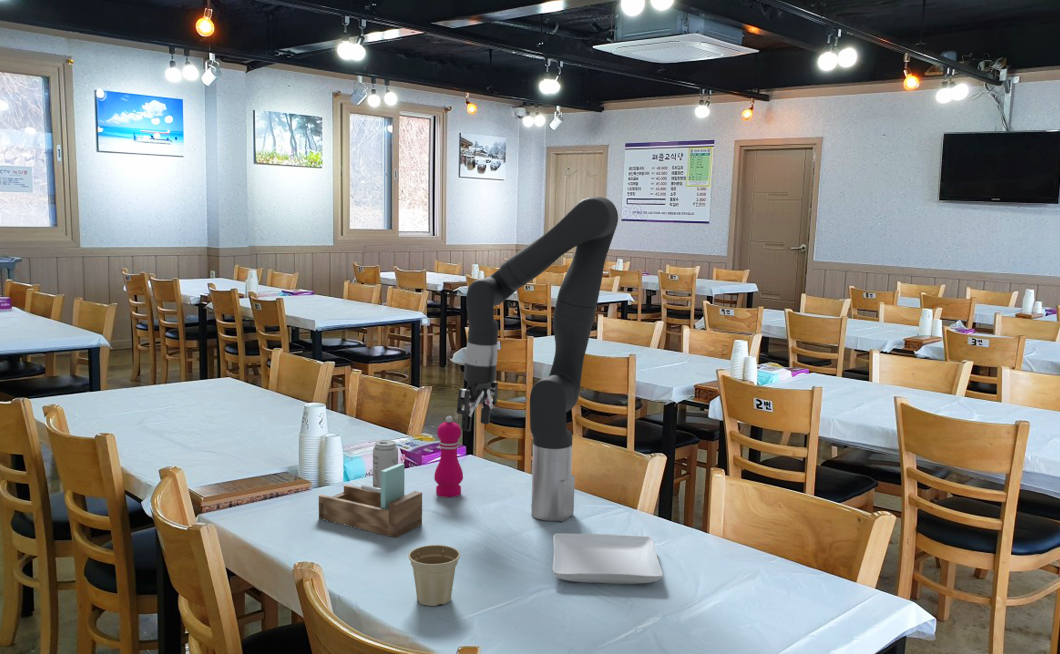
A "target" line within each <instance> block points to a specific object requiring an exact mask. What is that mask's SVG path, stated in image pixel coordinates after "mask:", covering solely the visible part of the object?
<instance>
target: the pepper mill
mask: <svg viewBox="0 0 1060 654" xmlns="http://www.w3.org/2000/svg"><path fill="white" fill-rule="evenodd" d="M453 420H454V419H453V417H452V416H451V415H448V416H446V417H445V422H443V423H442V422H441V424H440V425H439V426H438V427H437V430H436V431H437V433H436V434H437V438H438V439H439V441H438V444H439V445H438V447H439V448H440V458H439V462H438V464H437V466H436V467H435V471H434V475H433V476H434V477H433V478H434V482H435V483H436V484H437V485H436V487H435V493H436V495H437V496H438V497H442V498H454V497H458V496H460V495H461V494H462V486H461V485H460V484H461V483H462V481H463V480H464V475H463V474H464V472H463V468H462V466H461V464H460V461H459V459H458V458H459V457H458V448H459V447H460V441H459V439H460V438H461V436H462V429H461V426H460V425H459V424H458V423H457V422H454V421H453Z"/></svg>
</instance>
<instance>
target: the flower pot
mask: <svg viewBox="0 0 1060 654" xmlns="http://www.w3.org/2000/svg"><path fill="white" fill-rule="evenodd" d="M460 558H461V552H460V551H459V549H457V548H456V547H453V546H450V545H446V544H444V545H443V544H428V545H422V546H418V547H415V548H414V549H412V550H410V551H409V553H408V560H409V561H410V565H411V568H412V570H413V578H414V585H415V592H416V599H417V601H418V602H419V604H421V605H422V606H423V605H424V606H428V607H437V606H438V605H446V604H448V603H449V602H450V601H451V599H452V593H453V586H454V581H455V580H454V579H455V572H456V567H457V565H458V563H459V560H460Z"/></svg>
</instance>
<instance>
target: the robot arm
mask: <svg viewBox="0 0 1060 654" xmlns="http://www.w3.org/2000/svg"><path fill="white" fill-rule="evenodd" d="M618 222H619V213H618V209H617V207H616V206H615V204H614V203H613V202H612V201H611V200H610V199H609V198H606V197H601V196H589V197H586V198H583V199H581V200H580V201H578V202H577V203H576V204H575V206H573V208H571V209H570V210H569V212H567V214H566V215H564V216H563V217H562V218H561V219H560V221H558V223H556V224H555V225H554V226H553V227H552V228H550V229H549V230H548V231H547V232H545V233H544V234H543V235H542V236H540V237H538V238H537V239H536V240H534V241H533V242H532V243H530V244H528V245H527V246H525V247H524V248H522V249H521V250H519V251H518V252H517V253H514V254H513V255H512V256H511V257H509V258H508V259H507V260H505V261H504V262H503V263H502V264H501V266H500V267H499V269H497V270H496V271H495V272H494V273H492V274H491V275H489V276H487V277H485V278H479V279H476V280H474V281H472V282H471V283H470V284H469V286H468V288H467V291H466V297H465V298H466V300H465V301H466V311H467V312H466V313H467V319H468V324H469V325H468V331H467V333H468V334H467V342H466V343H467V345H466V349H465V357H464V372H463V379H464V381H466V382H467V386H466V388H459V389H458V394H457V395H458V397H457V406H456V414H459V415H461V426H460V428H461V431H464V432H470V431H471V429H472V421H473V420H472V418H473V413H474V410H476V409H477V408H478V406H479V405H481V410H480V423H481V424H483V425H489V424H490V421H491V420H490V419H491V412H492V411H491V410H492V409H493V408H494V406H496V405H497V402H498V388H499V387H498V381H496V377H497V376H496V374H497V363H498V362H497V361H498V337H499V336H498V335H499V323H498V321H497V320H496V319H495V317H494V316H495V315H494V312H495V311H494V307H497V306H499V305H500V304H502V303H503V302H505V301H506V300H507V299H509V298H510V297H511V296H512V295H513V294H515V292H516V291H518V290H519V289H520V288H522V287H523V286H525V285H527V284H529V283H530V282H531V281H532V280H535V279H536V278H537V277H538V276H540V275H541V274H542V273H543V272H545V271H546V270H547V269H548V268H549V267H550V266H552V265H553V263H555V262H556V261H557V260H558V259H559V258H560V257H562V256H563V255H564V254H566V253H568V251H570V250H572V249H574V248H575V247H576V248H575V253H574V256H573V259H572V260H571V263H570V265H569V267H568V270H567V272H566V273H565V275H564V277H563V280H562V282H561V284H560V287H559V290H558V293H557V298H556V301H555V302H556V303H555V307H554V311H553V316H552V323H553V324H552V327H553V334H554V335H553V336H554V337H553V338H554V342H555V344H554V345H555V350H554V351H555V352H554V358H553V361H552V365H551V368H550V372H549V375H548V376H547V377H545V378H541V379H539V380H537V381H536V382H535V383H534V385H533V386H532V388H531V390H530V394H529V428H530V429H529V430H530V433H531V436H532V465H531V468H532V472H531V475H532V476H531V477H532V478H531V505H530V506H531V507H530V508H531V513H530V514H531V515H532V517H534V518H535V519H537V520H542V521H547V522H548V521H549V522H550V521H551V522H554V521H555V522H564V521H565V520H567V519H568V518H570V517H572V516H573V515H574V514H575V513H574V511H575V482H576V481H575V480H576V477H575V475H574V474H572V469H573V468H572V463H573V433H572V431H570V429H568V428H567V412H569V411H571V410H573V408H574V407H575V406H576V404H577V403H578V400H579V396H580V391H581V383H582V382H581V381H582V373H583V367H584V366H583V364H584V361H585V360H584V359H585V355H586V351H587V348H588V344H589V340H590V335H591V332H592V327H593V323H594V320H595V316H596V311H597V307H598V302H599V296H600V292H601V287H602V282H603V275H604V269H605V263H606V260H607V255H608V253H609V250H610V246H611V244H612V240H613V239H614V235H615V233H616V229H617V226H618ZM462 405H463V406H462ZM572 514H573V515H572Z"/></svg>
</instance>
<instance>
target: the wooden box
mask: <svg viewBox="0 0 1060 654" xmlns="http://www.w3.org/2000/svg"><path fill="white" fill-rule="evenodd" d="M319 518H321V519H325V520H324V521H326V520H328V521H327V522H330V521H332V522H331V523H334V522H336V523H335V524H338V523H340V524H339V525H342V524H345V525H344V526H346V525H348V526H347V527H350V526H352V528H354V527H356V528H355V529H358V528H360V529H359V530H362V529H364V530H363V531H366V530H368V531H367V532H370V531H371V533H374V532H375V533H376V534H378V533H379V535H382V534H383V535H382V536H386V535H387V537H391V538H395V539H396V538H399V537H400V536H402V535H405V534H406V533H408V532H410V531H412V530H414V529H416V528H419V527H420V526H421V525H423V491H417V490H414V491H412V492H409V493H407V494H406V495H405V494H404V496H403V497H401V498H398V499H396V500H394V501H392V502H390V503H389V510H387V509H383V508H381V493H378V492H373V491H368V490H364V489H361V487H359V486H355V485H349V484H345V485H343V492H339V493H338V494H335V495H331V496H329V495H325V494H319V495H318V519H319ZM321 519H320V520H321Z"/></svg>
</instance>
